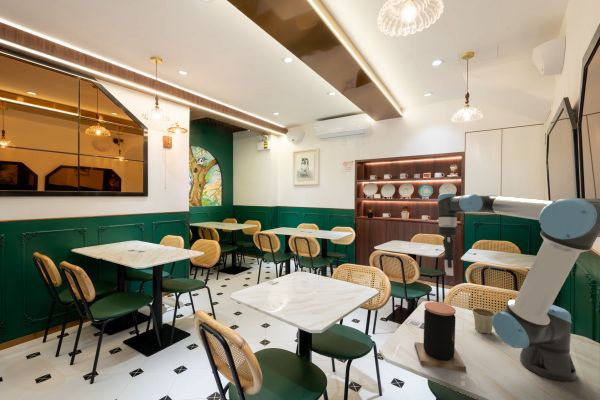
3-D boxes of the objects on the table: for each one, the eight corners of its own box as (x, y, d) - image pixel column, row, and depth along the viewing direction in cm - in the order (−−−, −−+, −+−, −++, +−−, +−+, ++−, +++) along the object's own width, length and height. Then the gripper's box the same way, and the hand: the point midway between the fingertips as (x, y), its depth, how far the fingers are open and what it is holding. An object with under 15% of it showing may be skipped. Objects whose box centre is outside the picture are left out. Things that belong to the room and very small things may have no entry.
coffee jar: (458, 363, 99) (460, 314, 98) (427, 359, 101) (428, 311, 101) (448, 347, 109) (450, 303, 109) (420, 344, 112) (421, 300, 111)
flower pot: (495, 329, 128) (495, 311, 128) (496, 338, 120) (497, 318, 120) (471, 323, 133) (472, 306, 133) (471, 332, 125) (471, 313, 125)
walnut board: (454, 350, 110) (454, 347, 110) (466, 371, 97) (466, 367, 97) (414, 345, 113) (414, 341, 113) (420, 364, 101) (420, 360, 100)
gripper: (438, 227, 139) (439, 270, 137) (439, 225, 117) (440, 276, 114) (454, 228, 136) (456, 271, 133) (459, 225, 114) (461, 278, 111)
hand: (448, 273), depth 124 cm, fingers open, 13 cm apart
